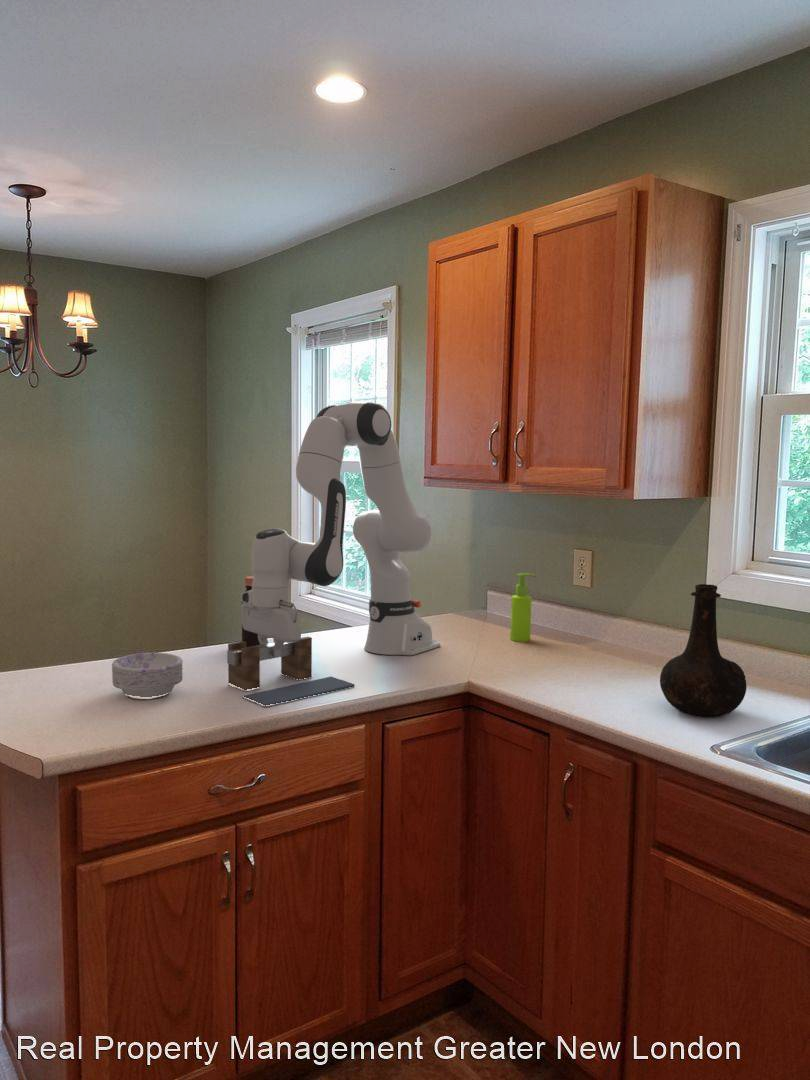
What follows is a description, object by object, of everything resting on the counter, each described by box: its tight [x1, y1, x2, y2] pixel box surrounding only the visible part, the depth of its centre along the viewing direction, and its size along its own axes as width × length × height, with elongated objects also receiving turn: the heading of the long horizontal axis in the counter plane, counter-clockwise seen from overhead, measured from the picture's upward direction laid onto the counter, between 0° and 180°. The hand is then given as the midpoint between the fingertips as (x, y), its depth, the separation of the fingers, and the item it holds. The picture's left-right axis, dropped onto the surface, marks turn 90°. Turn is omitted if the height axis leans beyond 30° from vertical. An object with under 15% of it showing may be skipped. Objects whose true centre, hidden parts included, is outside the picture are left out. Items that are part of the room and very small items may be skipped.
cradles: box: [227, 636, 313, 690], centre depth 200 cm, size 19×7×10 cm, turn 133°
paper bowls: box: [111, 652, 184, 697], centre depth 188 cm, size 15×15×8 cm
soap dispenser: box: [509, 572, 536, 643], centre depth 249 cm, size 6×7×20 cm
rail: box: [226, 642, 295, 666], centre depth 200 cm, size 22×3×3 cm, turn 133°
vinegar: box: [241, 575, 260, 647], centre depth 233 cm, size 7×7×20 cm
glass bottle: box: [659, 583, 747, 719], centre depth 180 cm, size 18×18×28 cm
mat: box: [242, 676, 356, 706], centre depth 192 cm, size 25×9×1 cm, turn 133°
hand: (270, 654), depth 200 cm, fingers closed on rail, 3 cm apart
